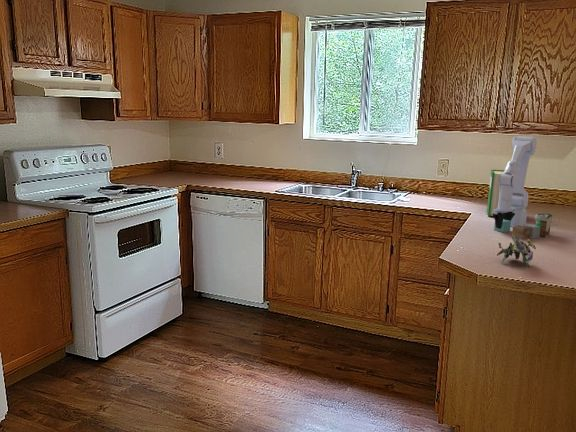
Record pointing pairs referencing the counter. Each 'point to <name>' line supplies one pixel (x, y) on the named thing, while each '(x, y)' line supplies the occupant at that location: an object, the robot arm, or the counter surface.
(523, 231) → the brass block
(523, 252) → the passion flower
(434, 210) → the counter surface
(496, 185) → the hardback book
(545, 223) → the food container
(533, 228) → the slate-grey block
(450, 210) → the counter surface
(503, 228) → the teal block
